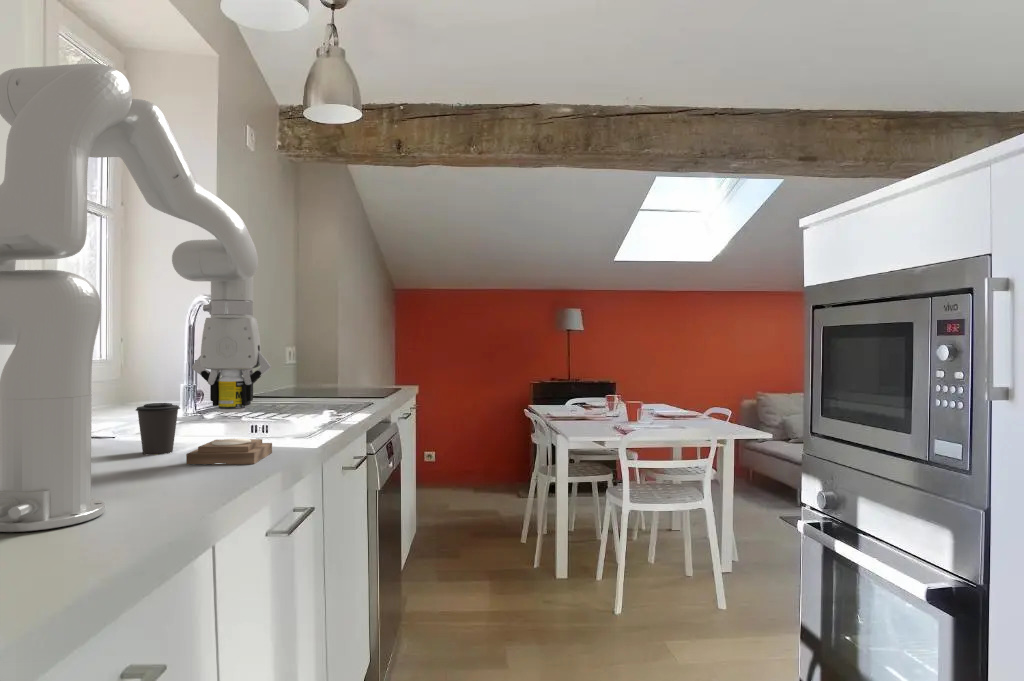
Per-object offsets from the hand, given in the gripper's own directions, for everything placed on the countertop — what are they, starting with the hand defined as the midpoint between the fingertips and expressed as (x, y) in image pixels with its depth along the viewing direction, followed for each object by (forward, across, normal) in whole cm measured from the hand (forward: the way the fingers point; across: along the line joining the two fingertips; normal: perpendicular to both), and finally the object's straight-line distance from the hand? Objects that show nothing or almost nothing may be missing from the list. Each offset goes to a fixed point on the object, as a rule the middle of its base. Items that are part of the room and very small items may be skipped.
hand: (231, 404), depth 125 cm
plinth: (+10, 0, 0) cm, 10 cm away
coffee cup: (+11, -17, +8) cm, 22 cm away
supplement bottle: (+2, 0, 0) cm, 2 cm away
